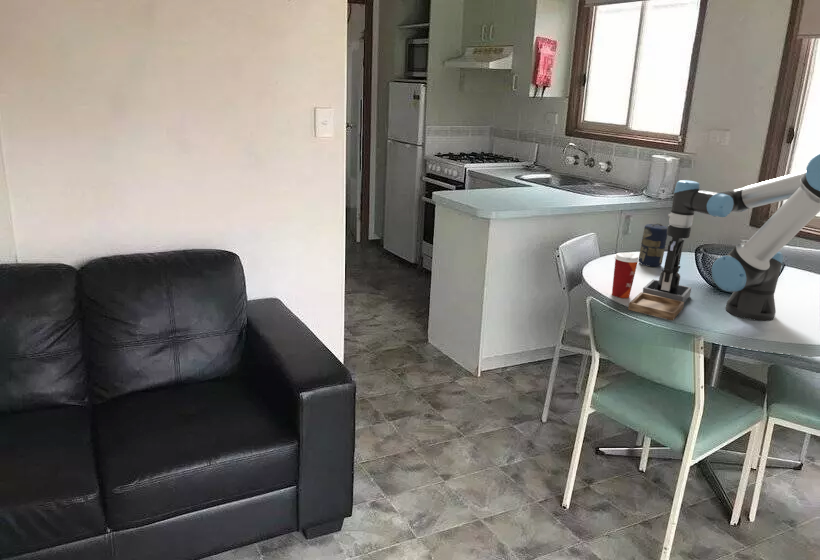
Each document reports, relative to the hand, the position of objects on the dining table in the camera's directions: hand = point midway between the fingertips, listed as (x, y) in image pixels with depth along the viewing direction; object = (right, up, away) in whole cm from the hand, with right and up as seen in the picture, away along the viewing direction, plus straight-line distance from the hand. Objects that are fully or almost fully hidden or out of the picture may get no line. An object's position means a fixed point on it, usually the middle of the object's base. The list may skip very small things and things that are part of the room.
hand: (667, 287), depth 228 cm
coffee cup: (-17, -3, 0) cm, 17 cm away
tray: (-9, -7, -12) cm, 17 cm away
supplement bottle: (0, -4, +1) cm, 4 cm away
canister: (+9, +9, +41) cm, 43 cm away
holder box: (0, -3, +1) cm, 4 cm away
